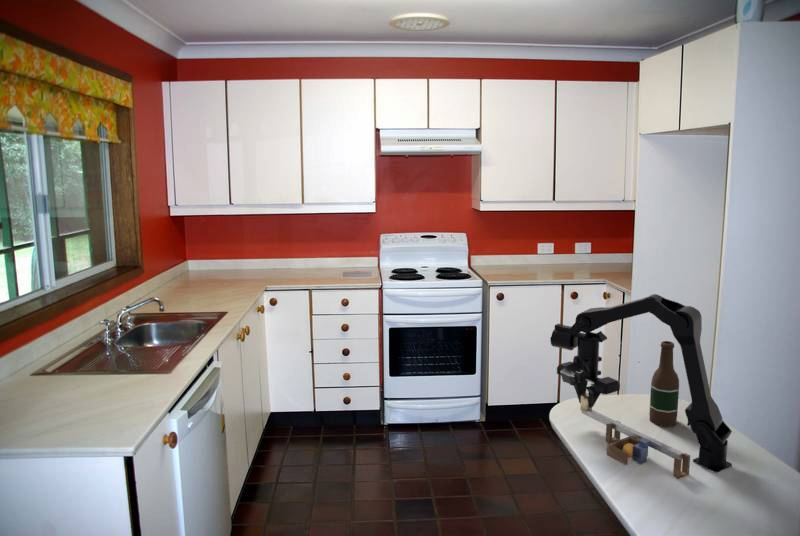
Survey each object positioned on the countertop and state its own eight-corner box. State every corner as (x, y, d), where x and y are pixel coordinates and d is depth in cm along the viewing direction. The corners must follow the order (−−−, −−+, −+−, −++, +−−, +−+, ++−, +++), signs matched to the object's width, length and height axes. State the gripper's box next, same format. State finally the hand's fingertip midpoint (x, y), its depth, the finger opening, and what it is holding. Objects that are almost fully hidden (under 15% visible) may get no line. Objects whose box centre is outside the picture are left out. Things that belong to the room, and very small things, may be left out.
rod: (585, 421, 172) (586, 392, 170) (684, 471, 144) (686, 436, 142) (569, 426, 169) (570, 397, 167) (667, 478, 141) (669, 443, 139)
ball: (642, 451, 151) (635, 458, 153) (633, 439, 153) (626, 446, 155) (633, 454, 149) (626, 462, 151) (623, 442, 151) (617, 450, 153)
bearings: (616, 437, 163) (616, 420, 162) (689, 474, 144) (690, 455, 143) (605, 441, 161) (606, 424, 160) (678, 479, 142) (679, 459, 141)
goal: (628, 446, 157) (629, 436, 157) (647, 456, 152) (648, 445, 152) (606, 455, 154) (607, 444, 153) (625, 465, 148) (626, 454, 148)
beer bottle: (672, 415, 175) (676, 338, 170) (681, 427, 167) (687, 346, 163) (645, 415, 176) (648, 338, 171) (653, 427, 168) (657, 346, 163)
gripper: (543, 349, 170) (542, 400, 173) (592, 369, 154) (590, 424, 157) (571, 342, 175) (570, 391, 178) (622, 361, 159) (619, 415, 162)
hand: (586, 405), depth 169 cm, fingers closed on rod, 3 cm apart
